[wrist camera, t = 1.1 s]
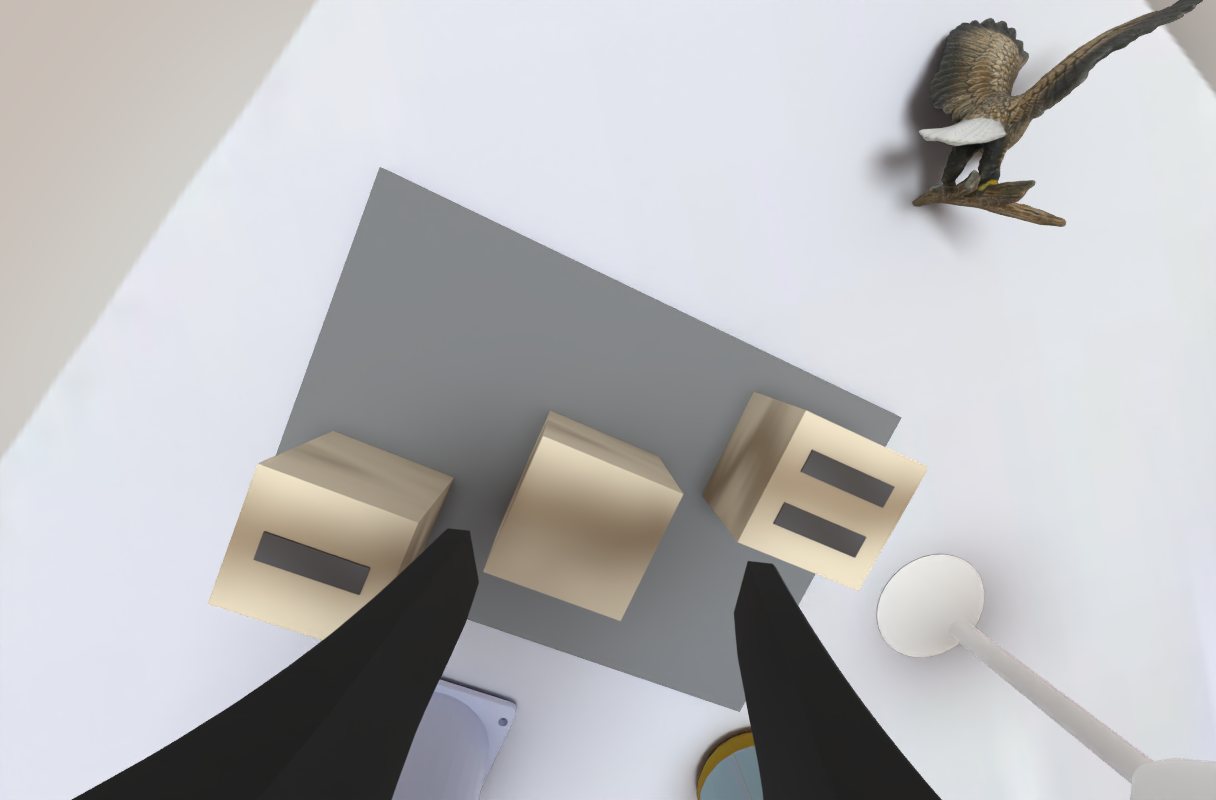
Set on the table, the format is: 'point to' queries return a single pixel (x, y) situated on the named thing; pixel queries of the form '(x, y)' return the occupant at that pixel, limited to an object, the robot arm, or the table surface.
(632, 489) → the plain birch block
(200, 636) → the table surface
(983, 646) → the champagne flute
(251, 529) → the one-bar birch block
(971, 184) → the eagle figurine
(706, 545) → the charcoal rubber mat
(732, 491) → the two-bar birch block
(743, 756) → the bottle
